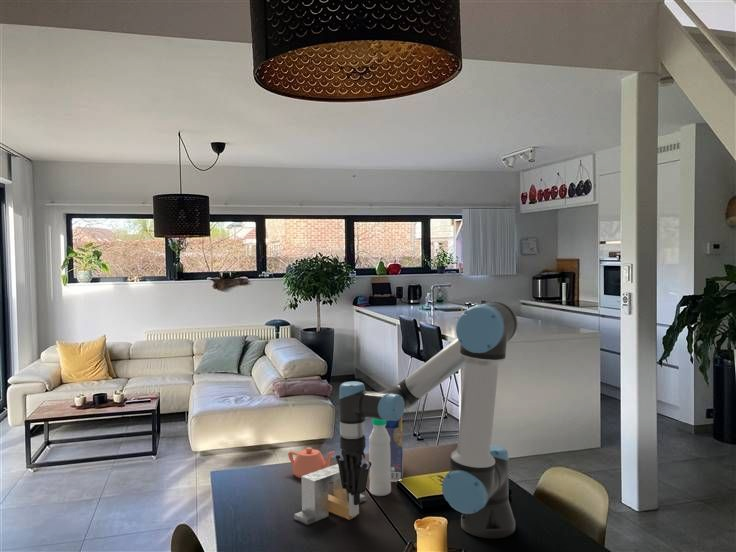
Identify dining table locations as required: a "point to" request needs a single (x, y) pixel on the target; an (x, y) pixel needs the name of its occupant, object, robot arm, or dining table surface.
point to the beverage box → (396, 448)
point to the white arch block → (320, 494)
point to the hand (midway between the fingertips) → (354, 514)
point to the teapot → (308, 461)
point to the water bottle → (379, 459)
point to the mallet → (339, 507)
